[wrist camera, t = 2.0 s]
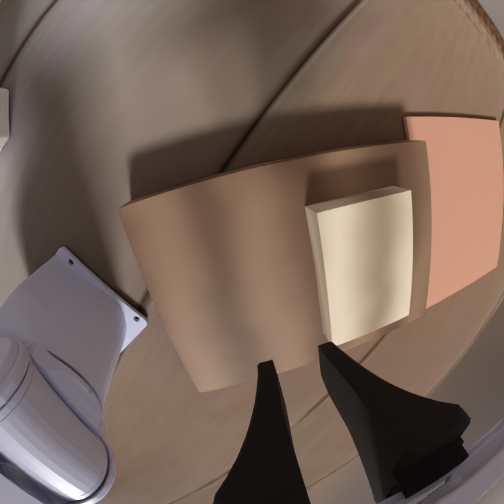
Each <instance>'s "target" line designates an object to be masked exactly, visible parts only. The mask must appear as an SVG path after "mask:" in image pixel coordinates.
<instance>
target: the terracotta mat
mask: <svg viewBox="0 0 504 504" xmlns="http://www.w3.org/2000/svg"><path fill="white" fill-rule="evenodd" d="M403 121H404V126H405V132H406V138H407V140H421V141H426V146H427V154H428V163H429V174H430V187H431V211H432V238H431V262H430V276H429V286H428V296H427V304H426V308H428V307H430V306H432V305H433V304H435V303H437V302H439V301H441V300H443V299H445V298H446V297H448V296H450V295H452V294H453V293H455V292H457V291H459V290H460V289H462V288H464V287H465V286H467V285H469V284H470V283H472V282H474V281H475V280H477V279H478V278H480V277H482V276H483V275H485V274H486V273H488V272H489V271H491V270H492V269H494V268H495V267H497V262H498V255H499V248H500V240H501V230H502V217H503V159H502V146H501V137H500V129H499V121H495V120H486V119H474V118H458V117H403Z"/></svg>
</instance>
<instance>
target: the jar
mask: <svg viewBox="0 0 504 504" xmlns="http://www.w3.org/2000/svg"><path fill="white" fill-rule="evenodd" d="M9 137H10V132H9V90H8V89H4V88H0V151H1V150H2V148H3V147H4V145H5V143H6V142H7V140H8V139H9Z"/></svg>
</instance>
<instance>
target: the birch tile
mask: <svg viewBox="0 0 504 504" xmlns="http://www.w3.org/2000/svg"><path fill="white" fill-rule="evenodd" d="M305 210H306V216H307V222H308V228H309V234H310V240H311V246H312V253H313V259H314V266H315V273H316V280H317V288H318V295H319V303H320V312H321V321H322V330H323V333H324V335H325V336H326V338H327V340H328V341H329V342H330V341H331V342H333V343H334V344H335V345H336V346H338V345H340V344H343V343H345V342H348V341H351V340H353V339H356V338H358V337H361V336H363V335H365V334H368V333H370V332H373V331H375V330H377V329H380V328H382V327H384V326H386V325H389V324H391V323H393V322H395V321H397V320H400V319H402V318H404V317H406V316H408V315H409V309H410V299H411V285H412V266H413V216H412V197H411V190H408V189H404V188H400V187H396V186H391V187H386V188H382V189H377V190H373V191H368V192H364V193H359V194H355V195H350V196H346V197H342V198H338V199H333V200H329V201H325V202H321V203H317V204H313V205H309V206H305Z"/></svg>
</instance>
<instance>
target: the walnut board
mask: <svg viewBox="0 0 504 504" xmlns="http://www.w3.org/2000/svg"><path fill="white" fill-rule="evenodd" d="M391 186H396V187H400V188H404V189H408V190H411V197H412V216H413V266H412V285H411V299H410V309H409V315H408V316H406V317H404V318H402V319H400V320H397V321H395V322H393V323H391V324H389V325H386V326H384V327H382V328H380V329H377V330H375V331H373V332H370V333H368V334H365V335H363V336H361V337H358V338H356V339H353V340H351V341H348V342H345V343H343V344H340V345H338V346H337V347H339V348H340V349H341V350H342V351H345V350H348V349H350V348H353V347H355V346H358V345H360V344H363V343H365V342H367V341H370V340H372V339H374V338H377V337H379V336H381V335H384V334H386V333H388V332H390V331H392V330H394V329H397V328H399V327H401V326H403V325H405V324H407V323H409V322H411V321H413V320H415V319H417V318H419V317H421V316H423V315H425V311H426V304H427V296H428V286H429V276H430V262H431V238H432V211H431V187H430V174H429V163H428V154H427V146H426V141H421V140H398V141H389V142H380V143H372V144H364V145H357V146H350V147H343V148H337V149H330V150H325V151H319V152H313V153H308V154H302V155H297V156H292V157H287V158H282V159H278V160H273V161H268V162H264V163H259V164H255V165H251V166H247V167H242V168H238V169H234V170H230V171H227V172H223V173H219V174H215V175H211V176H208V177H204V178H201V179H197V180H194V181H190V182H187V183H183V184H180V185H177V186H173V187H170V188H167V189H164V190H161V191H158V192H154V193H151V194H148V195H145V196H142V197H139V198H137V199H134V200H131V201H129V202H128V203H126V204H124V205H123V206H121V207H119V208H118V211H119V214H120V217H121V220H122V223H123V226H124V229H125V232H126V234H127V237H128V240H129V243H130V245H131V248H132V251H133V253H134V256H135V259H136V261H137V264H138V266H139V269H140V271H141V274H142V276H143V279H144V281H145V284H146V286H147V288H148V291H149V293H150V295H151V298H152V300H153V302H154V304H155V307H156V309H157V311H158V313H159V315H160V318H161V320H162V322H163V324H164V326H165V328H166V330H167V332H168V334H169V336H170V338H171V340H172V342H173V344H174V346H175V348H176V350H177V352H178V354H179V356H180V358H181V360H182V362H183V364H184V365H185V367H186V369H187V371H188V373H189V375H190V376H191V378H192V380H193V382H194V384H195V385H196V387H197V389H198V390H199V392H205V391H210V390H215V389H219V388H224V387H228V386H233V385H237V384H241V383H245V382H249V381H253V380H257V379H258V369H257V365H258V364H259V363H261V362H265V361H269V360H272V359H273V362H274V365H275V368H276V372H277V374H278V373H281V372H285V371H288V370H291V369H294V368H297V367H300V366H304V365H307V364H310V363H312V362H315V361H318V360H319V352H318V345H321V344H324V343H327V342H329V341H328V340H327V338H326V336H325V335H324V333H323V330H322V321H321V312H320V303H319V295H318V288H317V280H316V273H315V266H314V259H313V253H312V246H311V240H310V234H309V228H308V222H307V216H306V210H305V206H309V205H313V204H317V203H321V202H325V201H329V200H333V199H338V198H342V197H346V196H350V195H355V194H359V193H364V192H368V191H373V190H377V189H382V188H386V187H391Z"/></svg>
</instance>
